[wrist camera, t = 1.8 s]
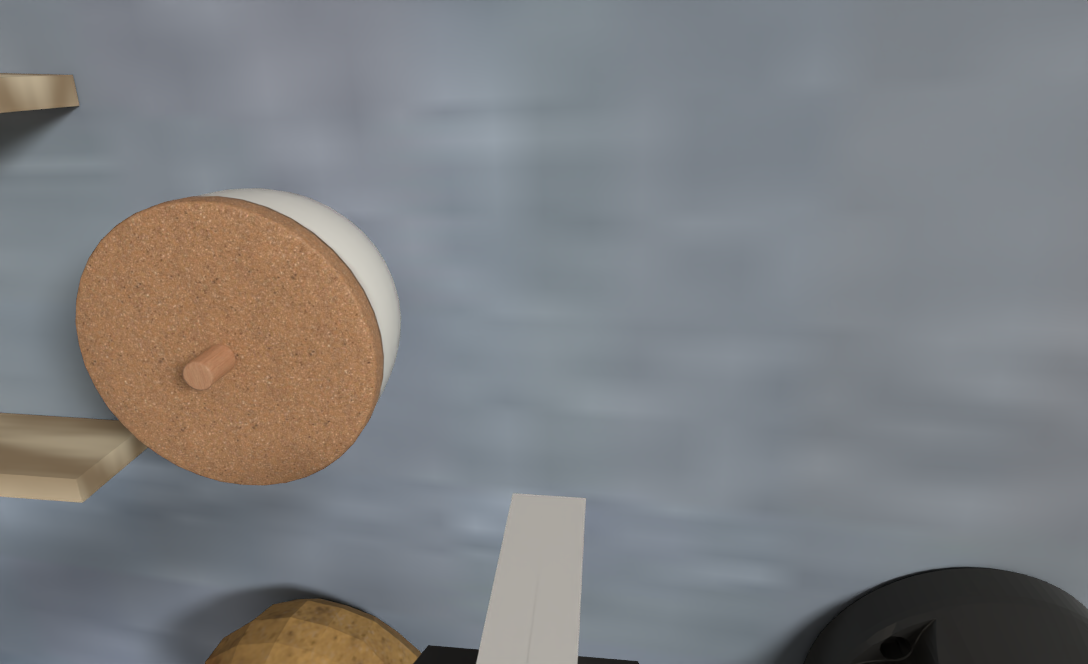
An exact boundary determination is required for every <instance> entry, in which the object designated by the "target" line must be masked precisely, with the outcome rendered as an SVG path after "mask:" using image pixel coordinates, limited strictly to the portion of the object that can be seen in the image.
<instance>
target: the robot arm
mask: <svg viewBox="0 0 1088 664" xmlns="http://www.w3.org/2000/svg"><path fill="white" fill-rule="evenodd" d="M585 503H586V498H574V497H559V496H544V495H530V494H515V493H513V495H512V500H511V505H510V509H509V514H508V519H507V523H506V528H505V532H504V537H503V542H502V546H501V551H500V556H499V560H498V565H497V569H496V574H495V579H494V583H493V588H492V593H491V597H490V602H489V607H488V611H487V616H486V620H485V625H484V630H483V634H482V639H481V644H480V648H479V650H477V649H465V648H453V647H441V646H430V645H428V646H427V648H426V649H425V650H424V651H423V652H422V654H421V655H420V656H419V657H418V658H417V660H416V661H415V662H414V663H413V664H639V663H638V661H628V660H617V659H605V658H593V657H581V656H578V643H579V623H580V603H581V583H582V563H583V543H584V523H585ZM804 664H1088V609H1087V608H1086V607H1085V606H1084V605H1083V604H1082V603H1080V602H1079V601H1078V600H1077V599H1075V598H1074V597H1073V596H1071V595H1070V594H1068V593H1067V592H1065V591H1063V590H1061V589H1060V588H1058V587H1056V586H1054V585H1052V584H1049V583H1047V582H1045V581H1042V580H1040V579H1037V578H1034V577H1031V576H1027V575H1024V574H1020V573H1015V572H1010V571H1004V570H996V569H984V568H961V569H949V570H941V571H934V572H929V573H924V574H920V575H916V576H912V577H909V578H905V579H902V580H899V581H897V582H894V583H891V584H889V585H886V586H884V587H882V588H879V589H877V590H875V591H873V592H871V593H869V594H868V595H866V596H864V597H863V598H861V599H859V600H858V601H856V602H855V603H853V604H852V605H850V606H849V607H848V608H846V609H845V610H844V611H842V612H841V613H840V614H839V615H838V616H837V617H835V618H834V619H833V620H832V621H831V622H830V623H829V624H828V625H827V626H826V628H825V629H824V630H823V631H822V632H821V634H820V635H819V636H818V638H817V639H816V641H815V642H814V644H813V646H812V647H811V649H810V651H809V653H808V655H807V657H806V660H805V663H804Z"/></svg>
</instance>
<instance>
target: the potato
mask: <svg viewBox="0 0 1088 664" xmlns="http://www.w3.org/2000/svg"><path fill="white" fill-rule="evenodd" d="M420 655H421V653H420V651H419V650H418V649H416V648H415V647H414V646H413V645H412V644H411V643H410V642H408V641H407V640H406V639H405V638H404V637H403V636H402V635H400V634H399V633H398V632H397V631H395V630H394V629H392V628H391V627H389V626H388V625H387V624H385V623H384V622H382V621H381V620H379V619H378V618H376V617H375V616H373V615H370V614H367V613H365V612H362V611H360V610H357V609H355V608H352V607H349V606H347V605H343V604H339V603H335V602H331V601H327V600H324V599H297V600H292V601H287V602H282V603H278V604H273V605H272V606H270V607H269V608H268V609H267V610H265V611H264V612H263V613H262V614H260V615H259V616H258V617H257V618H255V619H254V620H253V621H251V622H250V623H248V624H246V625H245V626H243V627H241V628H240V629H238V630H236V631H235V632H233V633H231V634H230V635H228V636H226V637H224V638H223V639H222V641H221V642H220V643H219V645H218V646H217V647H216V649H215V650H214V651H213V653H212V654H211V655H210V656H209V658H208V659H207V660H206V662H205V664H413V663H414V662H415V661H416V660H417V658H418V657H419V656H420Z"/></svg>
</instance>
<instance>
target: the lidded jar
mask: <svg viewBox="0 0 1088 664" xmlns="http://www.w3.org/2000/svg"><path fill="white" fill-rule="evenodd" d="M76 328H77V335H78V341H79V346H80V349H81V353H82V356H83V360H84V363H85V366H86V369H87V371H88V373H89V375H90V377H91V379H92V381H93V383H94V385H95V387H96V389H97V390H98V392H99V394H100V395H101V397H102V398H103V400H104V402H105V403H106V405H107V406H108V408H109V409H110V410H111V411H112V412H113V414H114V415H115V416H116V417H117V418H118V419H119V421H120V422H121V423H122V424H123V425H124V426H125V427H126V428H127V429H128V430H129V431H130V432H131V433H132V434H133V435H134V436H135V437H136V438H137V439H138V440H139V441H141V442H142V443H143V444H145V445H146V446H148V447H149V448H150V449H152V450H153V451H154V452H156V453H157V454H159V455H160V456H162V457H164V458H165V459H167V460H169V461H170V462H172V463H174V464H175V465H177V466H179V467H181V468H184V469H186V470H189V471H191V472H193V473H196V474H198V475H201V476H204V477H208V478H211V479H214V480H218V481H221V482H228V483H235V484H242V485H271V484H279V483H287V482H290V481H294V480H297V479H301V478H304V477H307V476H309V475H311V474H314V473H316V472H318V471H320V470H322V469H324V468H326V467H327V466H328V465H330V464H331V463H333V462H334V461H335V460H337V459H338V458H340V457H341V456H342V455H343V454H344V453H345V452H346V451H347V450H348V449H349V448H350V447H351V446H352V445H353V443H354V442H355V441H356V439H357V438H358V436H359V435H360V433H361V432H362V430H363V429H364V427H365V426H366V424H367V423H368V421H369V419H370V418H371V415H372V413H373V411H374V408H375V406H376V403H377V402H378V400H379V398H380V397H381V395H382V393H383V391H384V389H385V387H386V384H387V382H388V380H389V377H390V375H391V372H392V370H393V367H394V364H395V361H396V356H397V352H398V347H399V341H400V331H401V313H400V304H399V298H398V295H397V291H396V288H395V284H394V281H393V278H392V276H391V273H390V271H389V269H388V267H387V265H386V262H385V261H384V259H383V258H382V256H381V254H380V253H379V251H378V250H377V248H376V247H375V245H374V244H373V243H372V242H371V241H370V240H369V238H368V237H367V236H366V235H365V234H364V233H363V232H362V231H361V230H360V229H359V228H358V227H357V226H355V225H354V224H353V223H352V222H351V221H350V220H348V219H347V218H345V217H344V216H342V215H341V214H339V213H338V212H336V211H335V210H333V209H332V208H330V207H328V206H326V205H324V204H322V203H320V202H317V201H315V200H313V199H311V198H308V197H305V196H301V195H298V194H295V193H291V192H285V191H278V190H270V189H262V188H253V189H231V190H223V191H218V192H213V193H207V194H203V195H199V196H193V197H187V198H182V199H177V200H172V201H167V202H164V203H160V204H158V205H155V206H152V207H150V208H147V209H145V210H142V211H140V212H137V213H135V214H133V215H132V216H130V217H129V218H127V219H125V220H124V221H122V222H121V223H119V224H118V225H116V226H115V227H114V228H113V229H112V230H111V231H110V232H109V233H108V234H107V235H106V236H105V237H104V238H103V239H102V240H101V241H100V242H99V244H98V245H97V247H96V248H95V250H94V251H93V253H92V254H91V256H90V257H89V259H88V262H87V264H86V266H85V269H84V271H83V274H82V276H81V279H80V284H79V289H78V294H77V300H76Z"/></svg>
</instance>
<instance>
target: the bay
mask: <svg viewBox="0 0 1088 664" xmlns="http://www.w3.org/2000/svg"><path fill="white" fill-rule="evenodd" d="M71 106H79V102H78V97H77V92H76V88H75V83H74V79H73V75H51V74H13V73H0V113H5V112H16V111H27V110H38V109H49V108H60V107H71ZM147 448H148V446H146V445H145V444H143V443H142V442H141V441H139V440H138V439H137V438H136V437H135V436H134V435H133V434H132V433H131V432H130V431H129V430H128V429H127V428H126V427H125V426H124V425H123V424H122V423H121V422H120V421H118V420H102V419H87V418H71V417H56V416H40V415H25V414H9V413H0V496H1V497H14V498H28V499H42V500H55V501H69V502H82V503H83V502H84V501H85V500H86V499H87V498H89V497H90V496H91V495H92V494H93V493H95V492H96V491H97V490H98V489H99V488H100V487H102V486H103V485H104V484H105V483H106V482H108V481H109V480H110V479H111V478H112V477H113V476H115V475H116V474H117V473H118V472H119V471H121V470H122V469H123V468H124V467H125V466H126V465H128V464H129V463H130V462H131V461H132V460H134V459H135V458H136V457H137V456H138V455H140V454H141V453H142V452H143V451H144V450H145V449H147Z"/></svg>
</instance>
